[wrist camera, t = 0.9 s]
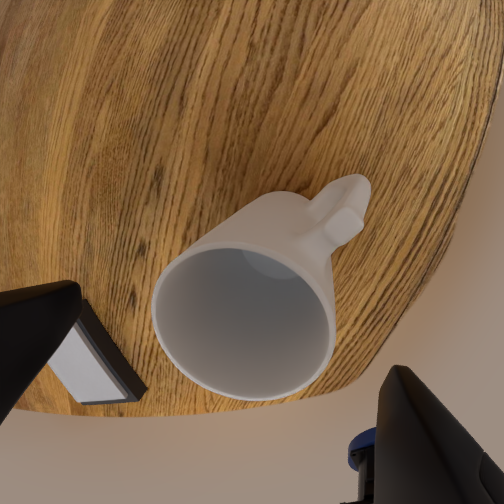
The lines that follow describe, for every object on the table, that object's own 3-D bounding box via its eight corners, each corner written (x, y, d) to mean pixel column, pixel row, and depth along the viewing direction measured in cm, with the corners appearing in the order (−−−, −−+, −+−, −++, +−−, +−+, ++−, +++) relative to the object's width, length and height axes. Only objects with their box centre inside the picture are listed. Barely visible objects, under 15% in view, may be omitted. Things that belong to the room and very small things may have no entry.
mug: (283, 297, 23) (245, 421, 12) (217, 234, 23) (123, 321, 12) (386, 203, 19) (453, 279, 8) (314, 130, 19) (302, 111, 8)
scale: (148, 389, 31) (136, 406, 28) (91, 396, 35) (80, 409, 32) (85, 298, 28) (68, 311, 26) (39, 322, 32) (25, 333, 30)
